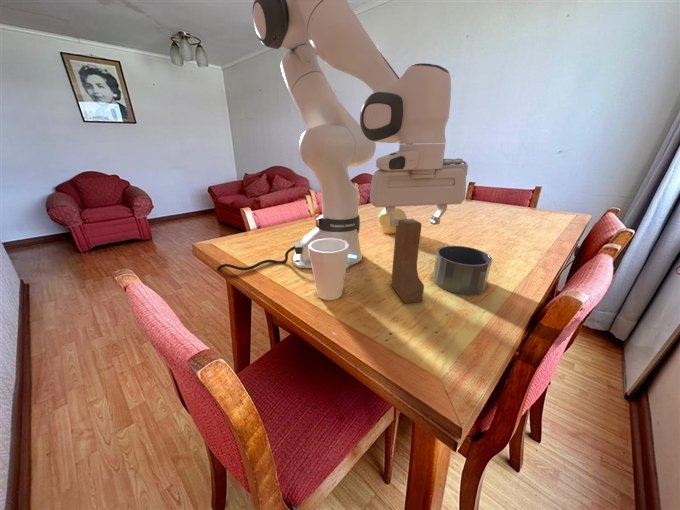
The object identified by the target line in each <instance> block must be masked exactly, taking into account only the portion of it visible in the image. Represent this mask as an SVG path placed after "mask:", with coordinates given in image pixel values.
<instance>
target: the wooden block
mask: <svg viewBox="0 0 680 510" xmlns="http://www.w3.org/2000/svg"><path fill="white" fill-rule="evenodd" d="M421 233H422V223H421V222H420V221H418V220H416V219H414V218H407V219H400V220H399V222H398V226H396V233H394V234H395V235H394V247H393V257H392V268H391V270H392V271H391V282H390V283H391V284H390V285H391V287H392V288H393V290H394V291H395V292H396V293H397V295H398V296H399V297H400V298H401V300H402V301H403V303H405V304H410V303H417V302H418V303H419V302H422V301H423V296H424V290H425V289H424V288H425V285H424V283H423V282H422V281H421V279H420V277H419V273H418V257H419V249H420V241H421V235H422V234H421Z"/></svg>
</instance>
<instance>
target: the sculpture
mask: <svg viewBox="0 0 680 510" xmlns="http://www.w3.org/2000/svg"><path fill="white" fill-rule="evenodd" d="M385 209H386V207H384V208H383V209H382V210H381V212H380V213H378V217H377V224H378V229H380V230H381V231H382V233H384V234H395V233H396V226H395V227H391V226H390V217H389V215H388V214H387V212H386V210H385ZM392 214H393V216H394V217H397V218H398V219H399V220H400V219H408V218H407V217H408V216H407V214H406V212H405V211H404V210H403V209H402V208H399V207H395V208H394V212H392Z"/></svg>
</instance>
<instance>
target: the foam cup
mask: <svg viewBox="0 0 680 510" xmlns="http://www.w3.org/2000/svg"><path fill="white" fill-rule="evenodd" d="M308 252H309V257H310V260H311V265H312V268H311V270H312V275H313V280H314V285H315V290H316V294H317V295H316V296H317V297H318V298H320V299H321V300H325V301H333V300H337V299H339V298H340V297H342V295H343V291H344V286H345V285H344V284H345V277H346V273H347V272H346V271H347V269H346V265H347V258H348V255H349V244H348V243H347V242H346V241H344V240H341V239H335V238H324V239H318V240H315V241H313V242H311V243H310V244H309V245H308Z"/></svg>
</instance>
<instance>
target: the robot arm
mask: <svg viewBox="0 0 680 510" xmlns="http://www.w3.org/2000/svg"><path fill="white" fill-rule="evenodd" d="M252 21H253V22H252V23H253V27H254V30H255V34H256V36H257V38H258V39H259V41H260V42H261V44H262V45H263V46H264V47H266V48H270V49H273V50H280V49H286V51H285V53H284V54H283V55H282V58H281V60H280V61H281V62H280V70H281V73H282V77H283V79H284V83H285V85H286V88H287V90H288V93H289V95H290V97H291V99H292V101H293V103H294V105H295V106H296V109H297V110H298V112H299V115H300V117H301V118H302V120H303V122H304V123H305V124H306V125H307V126H308V127H309V128H307V129H305V130H304V131H303V132H302V134H301V136H300V139H299V143H298V145H299V146H298V150H299V154H300V158H301V160H302V161H303V163H304V164H305V165H306V166H307V167H308V168H309V169H310V170H311V171H312V172H313V174H314V176H315V177H316V180H317V182H318V185H319V189H320V195H321V212H322V214H319V213H315V214H314V221H315V226H316V227H314V228H313V229H312V230H311V231H309V232H308V233H307V234H305V235H304V236H303V237H302V238H301V240H299V241H294V242H293V246H292V247H290V248H289V249H287V250H286V252H285V253H284V259H283V260H275V259H265V260H261V261H259V262H257V263H255V264H252V265H250V266H237V265H234V264H230V263H222V264H220V265H218V267H217V268H216V270H221V269H222V268H225V267H227V268H231V269H234V270H239V271H248V270H253V269H255V268H257V267H258V266H260V265H263V264H266V263H272V264H285V263H287V262H288V261H289V253H291V252H292V251H294V254H293V257H292V260H293V261H292V262H293V266H295V268H296V267H297V268H299V269H312V265H311V260H310V257H309V252H308V245H309V244H310V243H311V242H313V241H315V240H318V239H324V238H335V239H341V240H344V241H346V242H347V243H348V244H349V255H348V258H347V265H346V270H347V269H349V268H350V267H351V266H353V265H355V264H358V263H359V262H361V261H362V260H363V254H362V250H361V246H360V245H361V243H360V237H359V233H360V230H361V218H360V214H359V199H360V198H359V197H360V195H359V193H360V191H359V188H358V187H357V185H355V184H354V183H353V182H352V180H351V178H350V174H349V169H348V168H354V167H356V168H357V167H359V166H362V165H364V164H366V163H368V162H369V161H370V160H372V158H373V157H374V155H375V152H376V147H377V146H376V143H381V144H383V143H384V144H385V143H386V144H399V146H398V147H399V149H398V150H396V151H394V152H391V153H388V154H386V155H383V156H380V157H377V158H376V161H375V167H376V168H377V169H376V171H375V172H374V173H373V174H372V177H371V182H370V188H369V202H370V204H371V205H372V206H374V207H375V208H384V209H385V208H386V209H385V210H386V212H387V214H388V215H389V217H390V226H391V227H395V226H398V222H399V219H398V218H397V217H394V216H393V214H392V212H394V208H395V207H396V208H398V207H418V206H419V207H420V206H436V208H437V210H436V212H434V215H430V220H429V222H430V224H431V225H434V226H436V225H438V226H439V225H440V223H441V218H442V217H443V215H444V214H445V213H446V211H447V210H448V205H461V204H462V203H463V202H464V200H465V199H466V194H467V176H468V172H469V171H468V169H469V165H468V163H467V162H466V161H464V160H463V158H458V157H457V158H445V152H446V151H445V150H446V144H447V143H446V142H447V139H446V127H447V124H448V122H449V119H450V111H451V100H452V98H451V97H452V76H451V73H450V71H448V70H447V68H445V67H443V66H441V65H438V64H432V63H425V62H424V63H423V62H422V63H421V62H419V63H415V64H412V65H410V66H408V67H407V69H405V71H404V73H403V74H402V75H401V76H400V77H399V75H398V74H397V72H396V71H395V70H394V69H393V67H392V66H391V64H390V63H389V62H388V60H387V59H386V58H385V56H384V55H383V54H382V53H381V51H380V50H379V48H378V47H377V45H376V44H375V43H374V41H373V40H372V38H371V36H370V35H369V34H368V33H367V31H366V30H365V28H364V26H363V24H362V23H361V20H360V19H359V18H358V16H357V14H356V13H355V12H354V10H353V8H352V7H351V5H350V3H349V2H348V0H254V2H253V5H252ZM318 57H319V58H320V59H321V60H322V61H323V62H324V63H325V64H326V65H327V66H329V67H331V68H332V69H335V70H337V71H339V72H342V73H344V74H347V75H350V76H352V77H354V78H356V79H358V80H359V81H361V82H362V83H364V84H365V85H366V86H367V87H368V88H369V89H370V90H371V92H372V93H371V94H370V95H369V96H368V97H367V98H366V99H365V101H364V102H363V104H362V107H361V109H360V114H359V122H358V120H356V119H355V117H354V116H352V114H351V113H350V112H349V110H347V108H345V107H346V106H344V105H343V104H342V103H341V101H340V99H338V96H337V95H336V93H335V91H334V90H333V87H332V86H331V84H330V82H329V81H328V78H327V77H326V75H325V73H324V71H323V70H322V68H321V65H320V64H319V61H318Z"/></svg>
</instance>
